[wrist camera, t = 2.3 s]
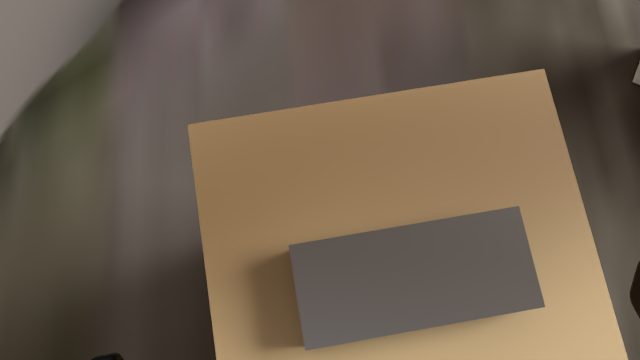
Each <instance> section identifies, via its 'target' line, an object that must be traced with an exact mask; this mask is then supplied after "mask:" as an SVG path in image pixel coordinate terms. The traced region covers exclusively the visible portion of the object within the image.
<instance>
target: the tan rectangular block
mask: <svg viewBox="0 0 640 360" xmlns="http://www.w3.org/2000/svg"><path fill="white" fill-rule="evenodd" d="M188 132H189V140H190V149H191V157H192V165H193V173H194V181H195V189H196V197H197V205H198V213H199V222H200V230H201V238H202V246H203V254H204V262H205V270H206V278H207V287H208V295H209V303H210V311H211V319H212V327H213V335H214V343H215V352H216V360H628V358H627V355H626V351H625V348H624V344H623V341H622V337H621V334H620V330H619V327H618V323H617V320H616V316H615V313H614V309H613V306H612V302H611V299H610V296H609V292H608V289H607V285H606V282H605V278H604V275H603V271H602V268H601V264H600V261H599V257H598V254H597V250H596V247H595V243H594V240H593V236H592V233H591V230H590V226H589V223H588V219H587V216H586V212H585V209H584V205H583V202H582V198H581V195H580V191H579V188H578V184H577V181H576V177H575V174H574V170H573V167H572V164H571V160H570V157H569V153H568V150H567V146H566V143H565V139H564V136H563V132H562V129H561V125H560V122H559V118H558V115H557V111H556V108H555V104H554V101H553V98H552V94H551V91H550V87H549V84H548V80H547V77H546V73H545V70H544V69H539V70H533V71H526V72H520V73H514V74H507V75H501V76H494V77H488V78H482V79H475V80H469V81H463V82H456V83H450V84H443V85H437V86H431V87H424V88H418V89H412V90H405V91H399V92H392V93H386V94H380V95H373V96H367V97H361V98H354V99H348V100H341V101H335V102H329V103H322V104H316V105H310V106H303V107H297V108H290V109H284V110H278V111H271V112H265V113H259V114H252V115H246V116H239V117H233V118H227V119H220V120H214V121H208V122H201V123H195V124H188Z"/></svg>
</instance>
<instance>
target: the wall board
mask: <svg viewBox="0 0 640 360" xmlns="http://www.w3.org/2000/svg"><path fill="white" fill-rule="evenodd" d="M632 82H634V83H636V84H638V85H640V62H639V65H638V68H637V70H636V73H635V76H634V79H633V81H632Z"/></svg>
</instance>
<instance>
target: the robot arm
mask: <svg viewBox="0 0 640 360" xmlns="http://www.w3.org/2000/svg"><path fill="white" fill-rule="evenodd" d="M630 299H631V303H632V305H633V307H634V309H635V311H636V313H637V315H638V316H639V318H640V261H639V263H638V265H637V268H636V272H635V275H634V279H633V282H632V286H631V289H630ZM91 360H124V359H123V358H122V356H121V355H120V354H119V353H111V354H106V355H100V356H96V357H94V358H93V359H91Z"/></svg>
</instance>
